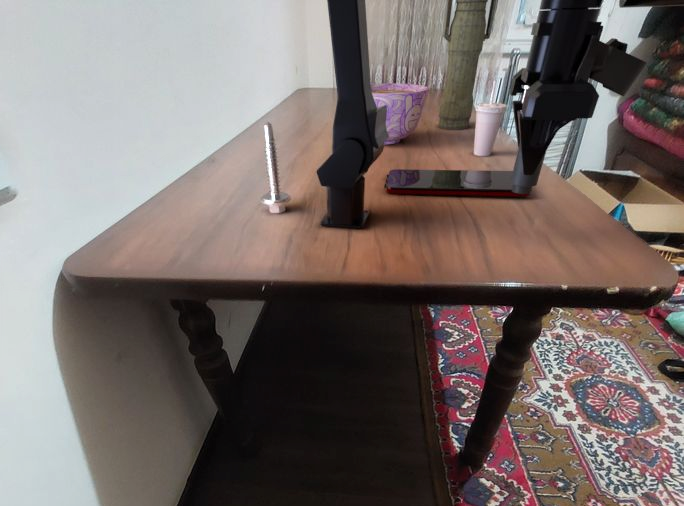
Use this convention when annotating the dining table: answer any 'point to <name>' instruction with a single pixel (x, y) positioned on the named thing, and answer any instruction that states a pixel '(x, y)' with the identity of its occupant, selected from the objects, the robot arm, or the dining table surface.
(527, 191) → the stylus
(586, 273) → the dining table surface
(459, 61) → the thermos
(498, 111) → the smoothie
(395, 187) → the smartphone
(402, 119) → the bowl of food
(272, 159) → the screw
